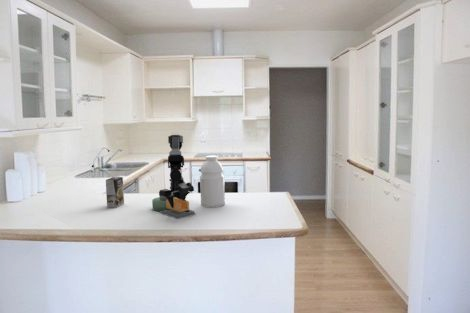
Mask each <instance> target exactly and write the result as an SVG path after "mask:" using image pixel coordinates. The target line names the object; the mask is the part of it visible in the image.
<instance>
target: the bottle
mask: <svg viewBox="0 0 470 313" xmlns="http://www.w3.org/2000/svg"><path fill="white" fill-rule="evenodd" d="M199 171H200V173H201V175H200V176H199V180H200V181H199V184H200V205H201V206H202V207H204V208H218V207H223V206H224V205H225V204H226V200H225V199H226V196H225V175H224V174H223V172H224V168H223V165H222V164H221V162H220V161H219V160H218V155H206V156H205V161H204V162H203V163H202V165H201V166H200V170H199Z"/></svg>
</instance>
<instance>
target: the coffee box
mask: <svg viewBox="0 0 470 313" xmlns="http://www.w3.org/2000/svg"><path fill="white" fill-rule="evenodd" d="M105 191H106V207H107V208H115V209H117V208H119V207H121V206H123V205H124V204H125V194H124V177H123V176H113V177H110V178H107V179H105Z"/></svg>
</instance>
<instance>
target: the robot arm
mask: <svg viewBox="0 0 470 313" xmlns="http://www.w3.org/2000/svg"><path fill="white" fill-rule="evenodd" d="M167 140H168V144H169V147H170V149H171V150H170V151H169V153H168V156H167V167H168V169H170V173H169V178H170V179H169V182H170V183H169V184H170V186H169V189H168V188H163V189H160V190H159V191H158V195H160V196H164V197H166V198H167V199H168V201H169V203H170V205H171V207H172V208H173V206H174V203H173V198H174V197H176V198H178V199H181V200H185V201H187V200H186V198H187V196H188V195H189V194H190V193H191V192H194V191H195V188H194V186H193V185H192V182H190V181H189V182H185V181H184V177H183V174H182V168H184V166H185V157H184V155H182V151H181V149H182V148H183V144H184V136H183V135H181V134H178V133H177V134H170V135H169V136H168V137H167Z"/></svg>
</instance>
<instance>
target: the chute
mask: <svg viewBox="0 0 470 313" xmlns="http://www.w3.org/2000/svg"><path fill="white" fill-rule="evenodd" d="M185 200H186V199H185ZM185 200H181V199H178V198H174V201H173V203H174V206H173V208H172V207H171V205H170V203H169V201H168V200H166V208H168V209H171V210H175V211H178V212H182V211H186V210H190V201H188V200H186V201H185Z"/></svg>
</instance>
